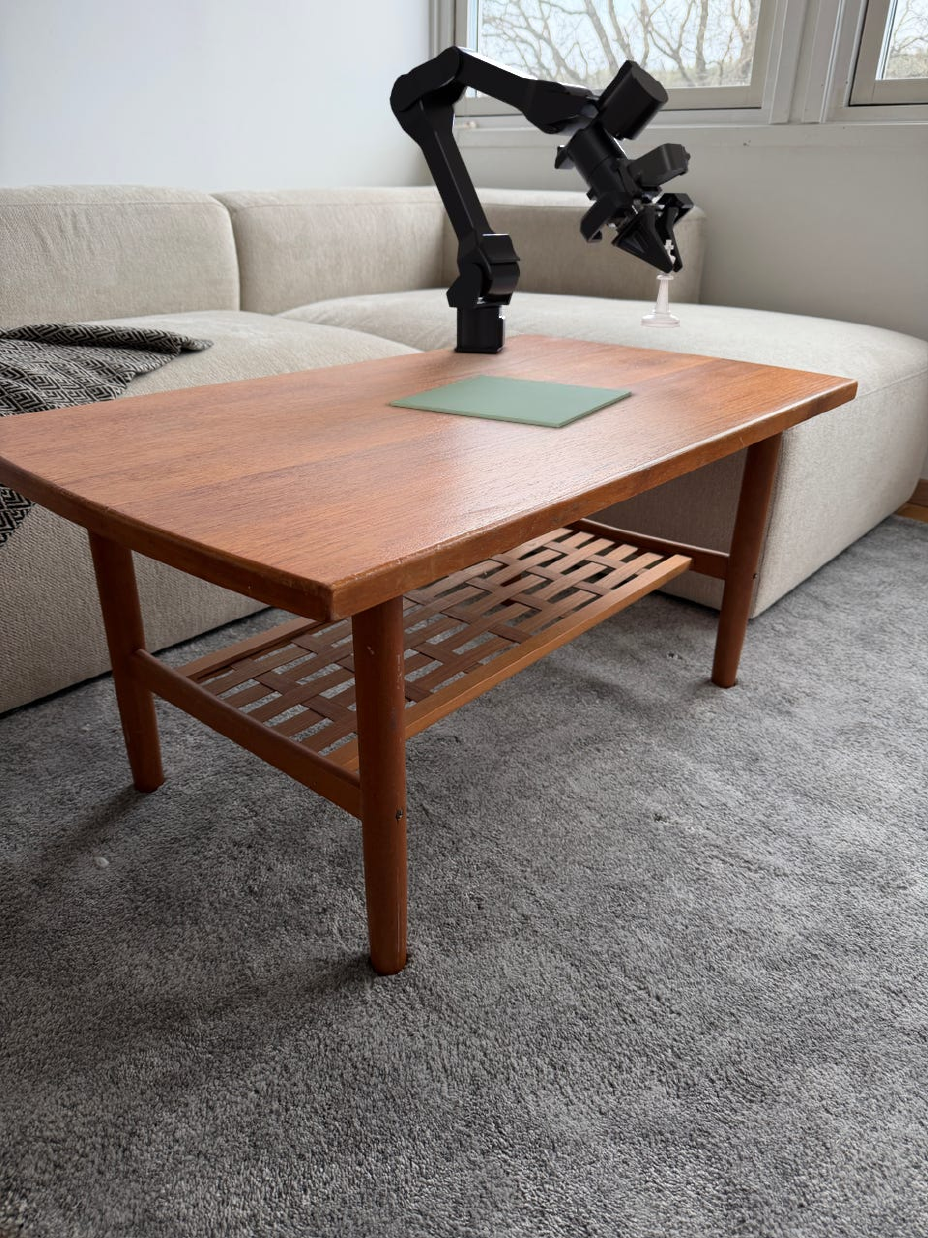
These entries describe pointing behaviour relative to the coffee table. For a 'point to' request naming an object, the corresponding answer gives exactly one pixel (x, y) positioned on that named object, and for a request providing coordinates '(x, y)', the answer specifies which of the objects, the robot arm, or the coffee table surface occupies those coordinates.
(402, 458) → the coffee table surface
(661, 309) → the chess piece
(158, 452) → the coffee table surface
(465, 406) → the felt mat
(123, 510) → the coffee table surface
